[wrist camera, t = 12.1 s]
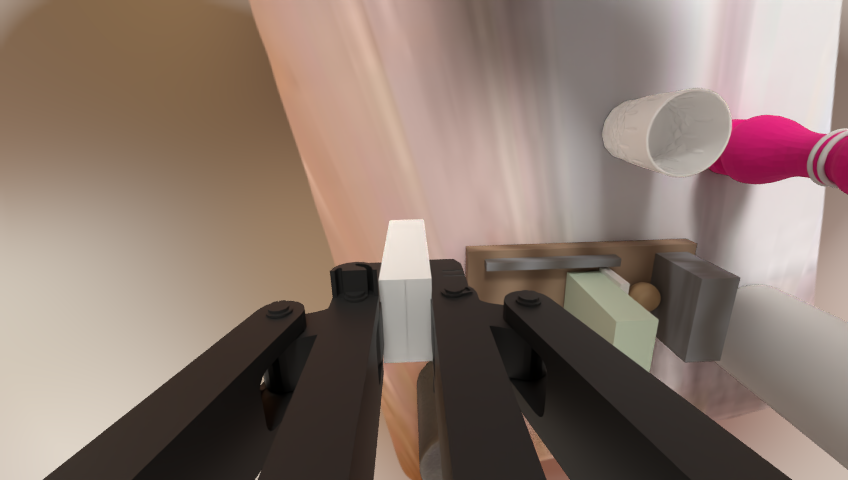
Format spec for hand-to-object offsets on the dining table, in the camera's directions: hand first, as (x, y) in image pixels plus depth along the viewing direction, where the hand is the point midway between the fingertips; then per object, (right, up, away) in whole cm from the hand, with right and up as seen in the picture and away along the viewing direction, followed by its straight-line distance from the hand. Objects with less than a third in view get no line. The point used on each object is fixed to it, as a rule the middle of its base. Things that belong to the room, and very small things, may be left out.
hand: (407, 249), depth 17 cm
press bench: (+20, -6, +33) cm, 39 cm away
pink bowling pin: (+37, +11, +29) cm, 48 cm away
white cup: (+25, +13, +28) cm, 39 cm away
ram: (+21, -6, +31) cm, 38 cm away
